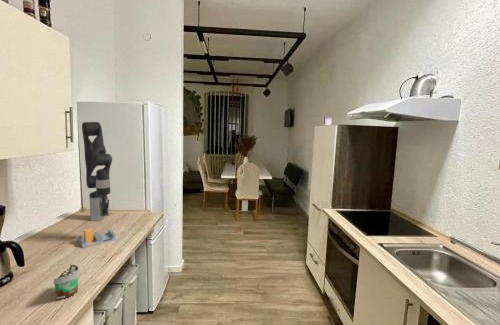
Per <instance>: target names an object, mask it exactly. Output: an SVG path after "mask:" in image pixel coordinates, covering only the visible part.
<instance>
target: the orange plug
mask: <svg viewBox="0 0 500 325" xmlns="http://www.w3.org/2000/svg"><path fill="white" fill-rule="evenodd" d="M93 233H94V229H93V228H92V227H90V228H89V227H88V228H84V229H83V238H84V240H85V242H86V243H87V242H91V241H93Z"/></svg>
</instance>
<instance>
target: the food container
mask: <svg viewBox="0 0 500 325" xmlns="http://www.w3.org/2000/svg"><path fill="white" fill-rule="evenodd" d="M80 274H81V270H80V267H79V266H78V265H76V264H70V266H69V267H68V268H67V269H66V270H64V271H63V272H62V273H61V274H59V276H58V277H56V278H54V279H53V285H54V289H55V296H56V297H55V298H56V301H63V300H62V299H64V300H67V299H69V297H70V298H71V296H72V297H73V296H75V295H76V294H77V293H78V289H79V275H80ZM75 293H76V294H75ZM74 294H75V295H74ZM66 298H67V299H66Z"/></svg>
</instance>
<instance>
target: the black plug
mask: <svg viewBox="0 0 500 325" xmlns="http://www.w3.org/2000/svg"><path fill="white" fill-rule="evenodd" d="M105 206H106V205H105ZM99 210H100V216H101V217H103V216H104V217H108V216H109V208H107V214H106V215H104V214H103V205H102V204H99Z"/></svg>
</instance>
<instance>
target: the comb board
mask: <svg viewBox="0 0 500 325" xmlns="http://www.w3.org/2000/svg"><path fill="white" fill-rule="evenodd" d="M116 240H117V238H116V233H115V232H114V231H113V230H112V229H111V228H110V229H107V232H104V233H99V232H98V231H95V232H93V241H91V242H87V243H86V242H85V240H84V237H83V236H82V234H81V235H78V236H77V242H78V243H79V245H80V246H81V247H82V249H84V248H89V247H93V246H97V245H101V244H105V243H110V242H114V241H116Z"/></svg>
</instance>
